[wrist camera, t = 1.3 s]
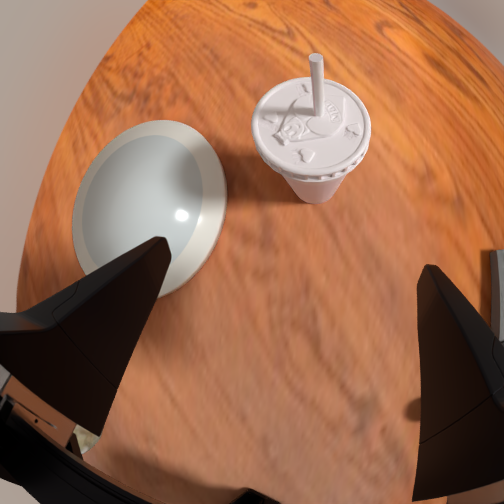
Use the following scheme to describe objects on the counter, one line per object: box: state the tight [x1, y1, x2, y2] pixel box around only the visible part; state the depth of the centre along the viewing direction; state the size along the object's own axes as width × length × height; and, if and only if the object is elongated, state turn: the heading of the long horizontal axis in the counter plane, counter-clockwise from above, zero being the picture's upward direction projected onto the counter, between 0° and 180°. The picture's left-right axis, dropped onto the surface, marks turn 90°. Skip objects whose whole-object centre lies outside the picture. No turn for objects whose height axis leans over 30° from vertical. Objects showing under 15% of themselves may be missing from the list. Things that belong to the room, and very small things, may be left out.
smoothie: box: [251, 53, 371, 204], centre depth 16 cm, size 6×6×14 cm
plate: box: [72, 120, 228, 298], centre depth 25 cm, size 18×18×1 cm
